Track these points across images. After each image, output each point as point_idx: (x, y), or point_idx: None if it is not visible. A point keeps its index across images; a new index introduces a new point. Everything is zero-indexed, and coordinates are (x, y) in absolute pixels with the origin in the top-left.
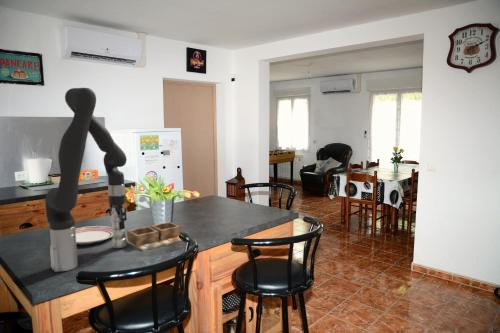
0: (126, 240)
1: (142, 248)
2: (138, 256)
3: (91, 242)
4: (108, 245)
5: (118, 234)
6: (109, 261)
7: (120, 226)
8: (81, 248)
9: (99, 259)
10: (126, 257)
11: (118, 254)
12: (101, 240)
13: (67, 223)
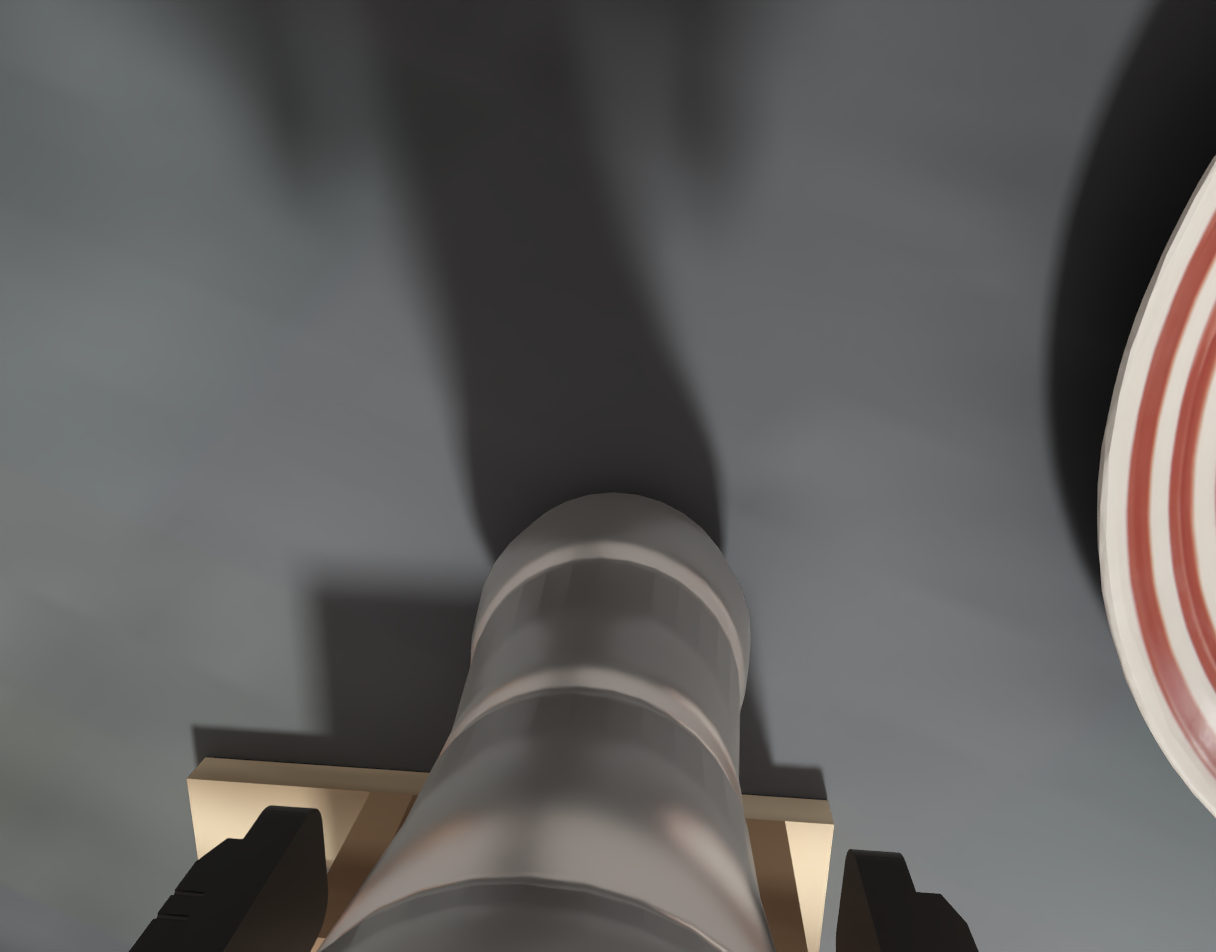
0: (827, 816)
1: (216, 795)
2: (20, 617)
3: (1207, 257)
4: (891, 504)
5: (463, 700)
6: (50, 177)
7: (225, 878)
8: (1176, 7)
9: (252, 71)
10: (79, 470)
11: (295, 435)
12: (1138, 472)
13: None
